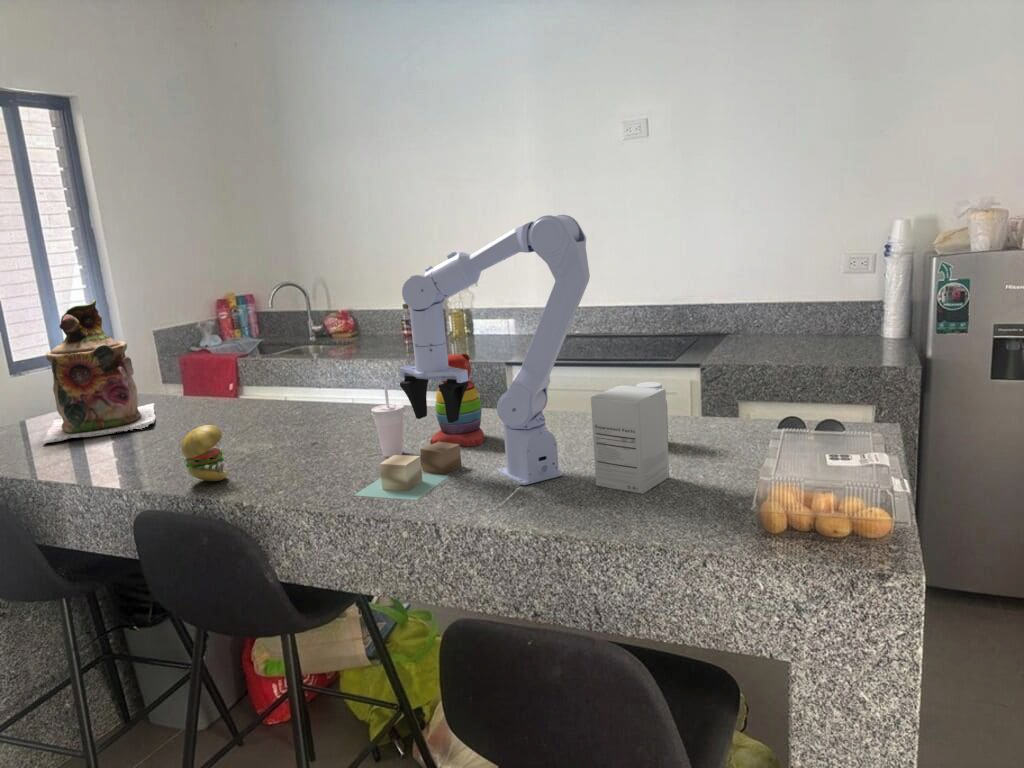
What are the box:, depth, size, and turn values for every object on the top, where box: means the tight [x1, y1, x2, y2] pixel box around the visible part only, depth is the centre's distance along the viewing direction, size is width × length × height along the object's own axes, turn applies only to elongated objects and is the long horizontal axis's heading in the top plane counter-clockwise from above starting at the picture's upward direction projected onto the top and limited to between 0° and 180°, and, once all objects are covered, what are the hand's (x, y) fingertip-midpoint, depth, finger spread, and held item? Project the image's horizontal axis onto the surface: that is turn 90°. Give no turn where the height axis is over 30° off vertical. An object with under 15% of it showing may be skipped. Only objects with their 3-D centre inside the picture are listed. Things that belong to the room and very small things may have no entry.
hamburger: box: [180, 421, 228, 482], centre depth 137 cm, size 8×7×12 cm
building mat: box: [352, 473, 450, 501], centre depth 128 cm, size 12×12×1 cm
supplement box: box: [590, 385, 670, 495], centre depth 120 cm, size 9×9×15 cm
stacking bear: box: [429, 353, 485, 447], centre depth 152 cm, size 11×10×18 cm
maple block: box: [379, 454, 423, 491], centre depth 127 cm, size 5×5×4 cm
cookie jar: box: [41, 299, 157, 446], centre depth 187 cm, size 25×25×32 cm
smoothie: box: [370, 385, 406, 458], centre depth 145 cm, size 6×6×14 cm
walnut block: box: [419, 442, 462, 475], centre depth 135 cm, size 5×5×4 cm
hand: (437, 419), depth 133 cm, fingers open, 7 cm apart
